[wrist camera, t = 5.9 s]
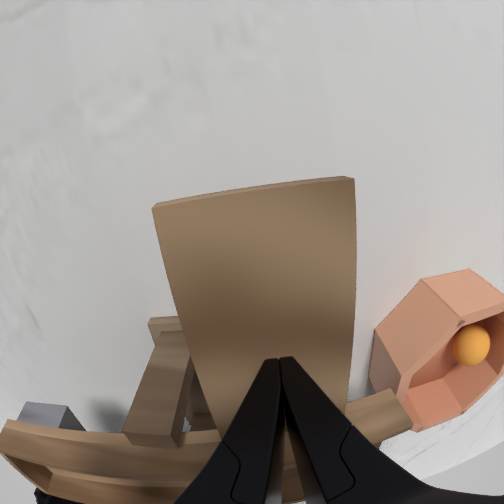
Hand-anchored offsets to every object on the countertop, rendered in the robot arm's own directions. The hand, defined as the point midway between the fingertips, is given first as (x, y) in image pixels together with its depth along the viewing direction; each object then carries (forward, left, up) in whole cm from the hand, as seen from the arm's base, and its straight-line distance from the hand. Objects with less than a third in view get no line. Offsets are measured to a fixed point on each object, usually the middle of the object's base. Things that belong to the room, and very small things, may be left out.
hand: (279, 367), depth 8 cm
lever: (-4, +6, -4) cm, 8 cm away
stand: (-9, +6, -9) cm, 14 cm away
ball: (-9, -16, -7) cm, 19 cm away
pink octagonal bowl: (-9, -13, -9) cm, 18 cm away
